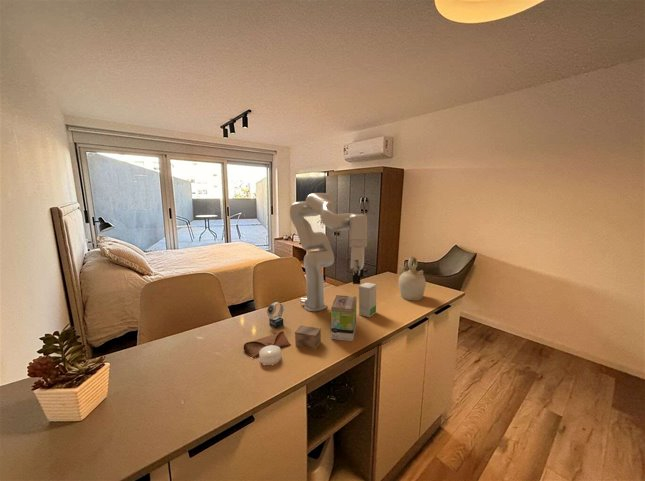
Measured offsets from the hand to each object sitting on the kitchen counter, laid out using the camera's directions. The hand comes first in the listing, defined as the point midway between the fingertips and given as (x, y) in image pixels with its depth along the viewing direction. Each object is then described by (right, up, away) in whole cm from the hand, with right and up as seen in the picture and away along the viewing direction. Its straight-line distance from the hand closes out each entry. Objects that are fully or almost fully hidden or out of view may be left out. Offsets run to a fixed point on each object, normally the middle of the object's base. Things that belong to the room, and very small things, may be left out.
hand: (358, 280), depth 116 cm
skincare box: (+8, -21, +20) cm, 30 cm away
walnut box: (-22, -26, -7) cm, 34 cm away
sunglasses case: (-38, -27, -9) cm, 47 cm away
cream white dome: (-36, -27, -17) cm, 48 cm away
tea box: (-6, -24, +2) cm, 25 cm away
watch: (-38, -23, +10) cm, 46 cm away
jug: (+38, -17, +41) cm, 59 cm away
